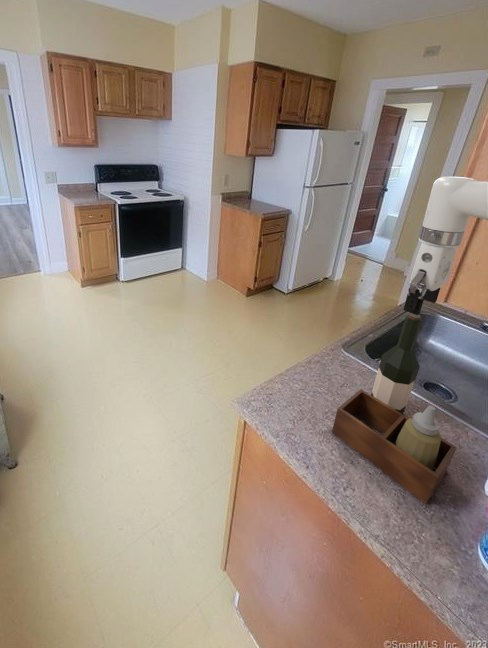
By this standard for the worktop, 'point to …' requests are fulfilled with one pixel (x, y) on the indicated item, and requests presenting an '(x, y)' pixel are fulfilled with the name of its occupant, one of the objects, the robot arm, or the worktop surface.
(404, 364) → the wine bottle
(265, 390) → the worktop surface
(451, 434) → the worktop surface
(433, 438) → the squeeze bottle
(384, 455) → the bottle rack
